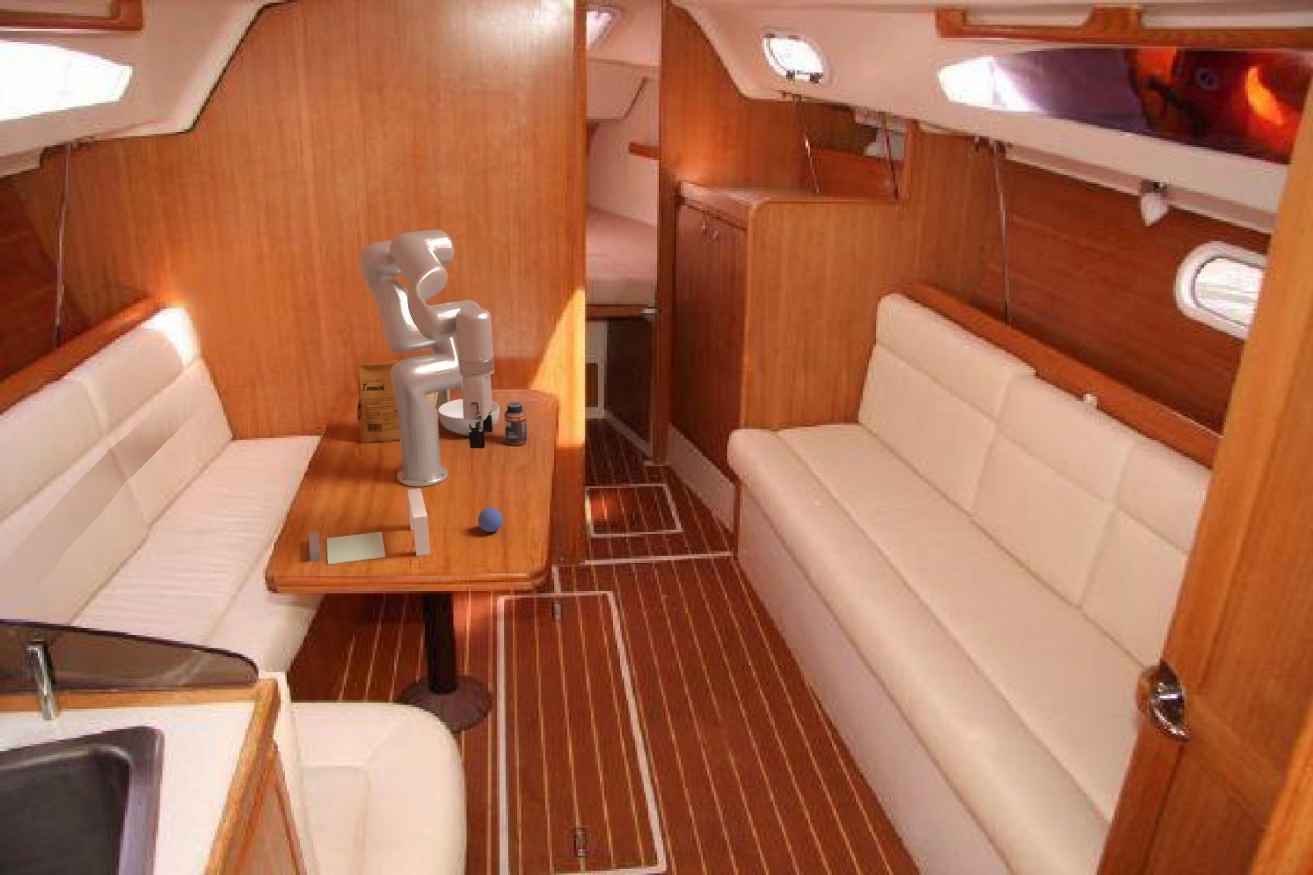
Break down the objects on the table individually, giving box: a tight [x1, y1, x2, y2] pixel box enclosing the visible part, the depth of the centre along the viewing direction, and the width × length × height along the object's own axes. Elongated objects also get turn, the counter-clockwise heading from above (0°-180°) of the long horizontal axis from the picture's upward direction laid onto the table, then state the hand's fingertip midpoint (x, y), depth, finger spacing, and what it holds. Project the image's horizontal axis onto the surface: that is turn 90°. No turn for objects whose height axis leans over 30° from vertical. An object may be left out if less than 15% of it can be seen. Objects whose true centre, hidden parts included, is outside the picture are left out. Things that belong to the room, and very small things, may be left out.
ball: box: [477, 507, 504, 533], centre depth 237 cm, size 6×6×6 cm
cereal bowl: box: [437, 398, 500, 437], centre depth 293 cm, size 17×17×7 cm
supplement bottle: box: [503, 401, 528, 447], centre depth 284 cm, size 6×6×11 cm
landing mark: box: [326, 531, 386, 566], centre depth 230 cm, size 12×12×1 cm
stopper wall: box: [308, 530, 321, 562], centre depth 228 cm, size 9×2×2 cm, turn 18°
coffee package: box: [356, 359, 400, 444], centre depth 285 cm, size 10×12×22 cm
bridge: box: [406, 488, 431, 557], centre depth 232 cm, size 3×15×9 cm, turn 18°
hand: (481, 439), depth 230 cm, fingers open, 9 cm apart
